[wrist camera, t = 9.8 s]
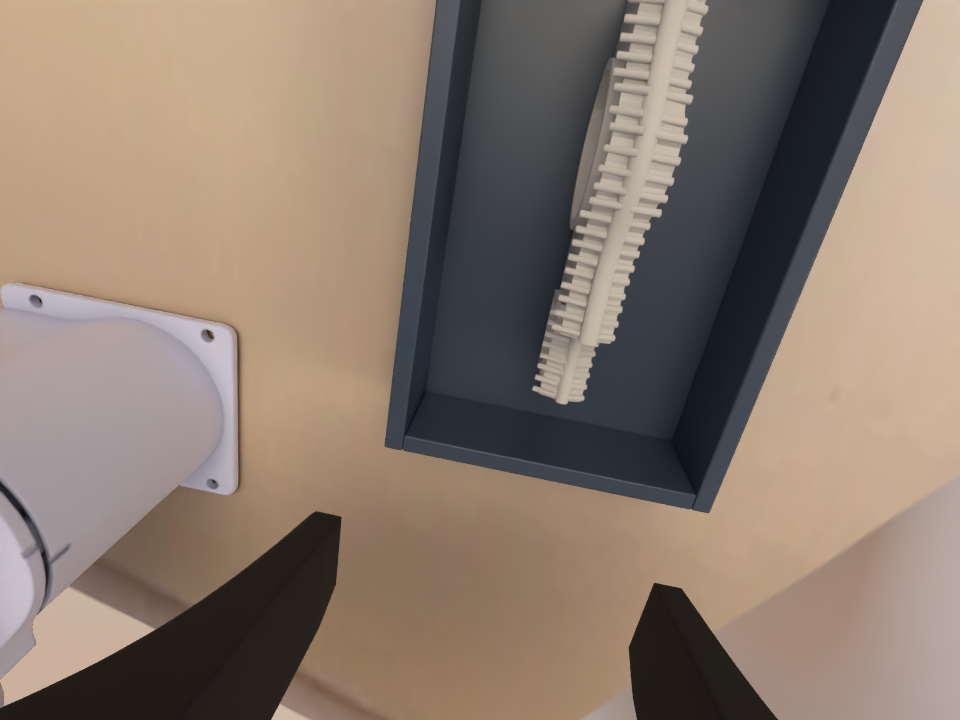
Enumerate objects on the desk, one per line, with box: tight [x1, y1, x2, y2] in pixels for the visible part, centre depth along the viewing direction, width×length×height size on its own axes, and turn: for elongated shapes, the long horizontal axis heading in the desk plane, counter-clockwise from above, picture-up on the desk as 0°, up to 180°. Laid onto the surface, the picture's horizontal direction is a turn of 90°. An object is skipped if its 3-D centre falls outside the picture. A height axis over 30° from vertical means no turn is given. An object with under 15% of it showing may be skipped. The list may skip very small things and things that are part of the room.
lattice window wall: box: [532, 0, 708, 404], centre depth 14 cm, size 12×2×6 cm, turn 170°
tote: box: [385, 0, 923, 513], centre depth 16 cm, size 11×17×4 cm, turn 170°
